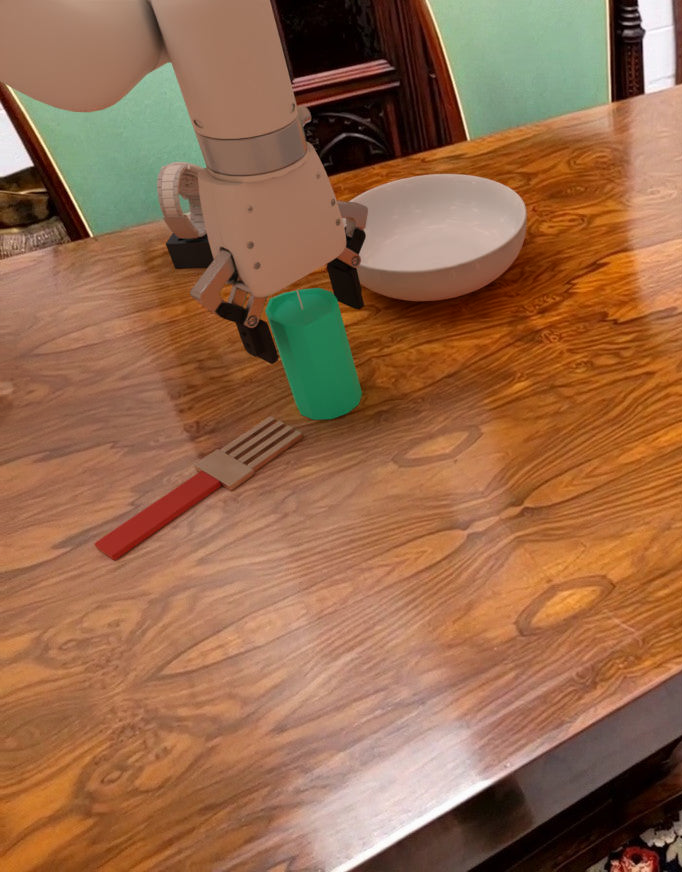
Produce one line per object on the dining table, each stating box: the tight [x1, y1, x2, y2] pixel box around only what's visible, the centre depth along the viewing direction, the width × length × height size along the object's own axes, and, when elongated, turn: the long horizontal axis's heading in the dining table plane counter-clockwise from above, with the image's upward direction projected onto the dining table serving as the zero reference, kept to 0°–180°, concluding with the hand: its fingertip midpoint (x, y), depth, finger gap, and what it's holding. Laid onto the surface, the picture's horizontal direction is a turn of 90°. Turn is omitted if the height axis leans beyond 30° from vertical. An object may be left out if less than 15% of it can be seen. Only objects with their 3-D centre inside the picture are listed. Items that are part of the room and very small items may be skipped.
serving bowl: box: [342, 173, 528, 302], centre depth 102 cm, size 21×21×7 cm
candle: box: [264, 287, 363, 421], centre depth 83 cm, size 6×6×12 cm
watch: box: [156, 161, 214, 269], centre depth 103 cm, size 6×8×11 cm
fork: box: [93, 415, 304, 561], centre depth 78 cm, size 18×5×1 cm, turn 146°
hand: (308, 329), depth 82 cm, fingers open, 9 cm apart
